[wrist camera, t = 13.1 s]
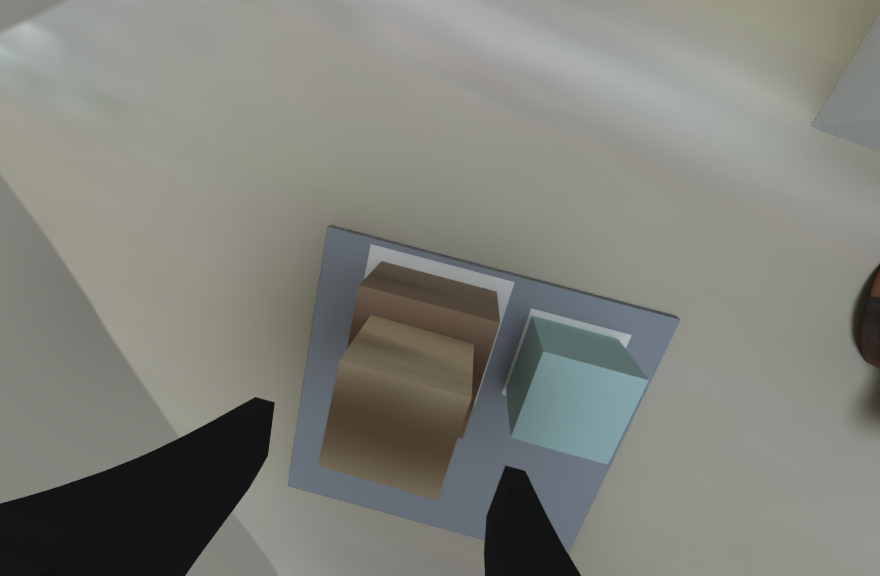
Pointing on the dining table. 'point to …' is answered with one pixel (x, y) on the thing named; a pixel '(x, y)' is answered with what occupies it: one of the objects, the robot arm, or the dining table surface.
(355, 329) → the walnut base
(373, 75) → the dining table surface
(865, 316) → the pottery mug
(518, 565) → the robot arm
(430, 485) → the oak block
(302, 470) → the blueprint mat
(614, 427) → the teal block
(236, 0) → the dining table surface
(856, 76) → the milk
